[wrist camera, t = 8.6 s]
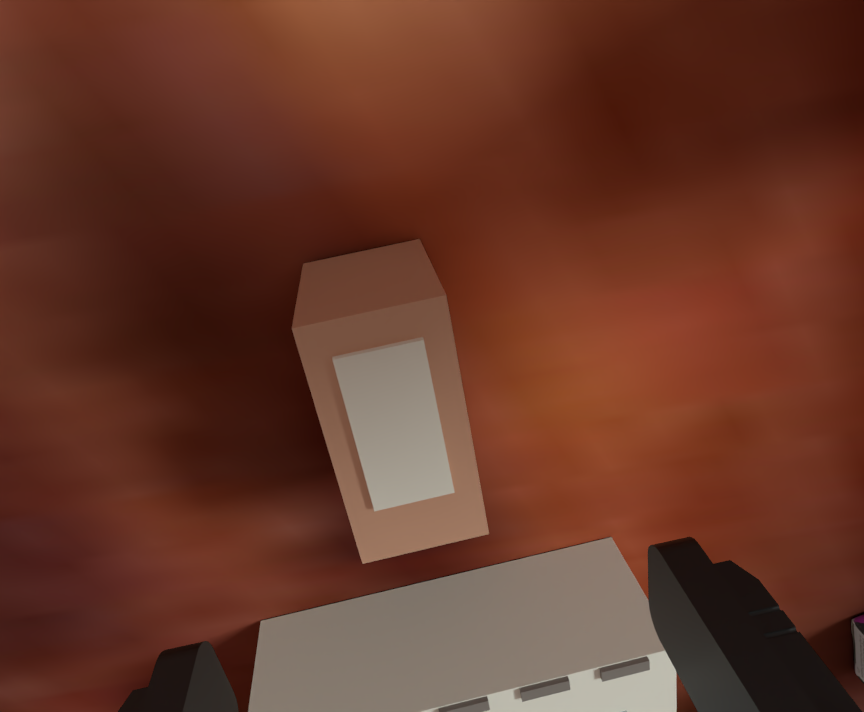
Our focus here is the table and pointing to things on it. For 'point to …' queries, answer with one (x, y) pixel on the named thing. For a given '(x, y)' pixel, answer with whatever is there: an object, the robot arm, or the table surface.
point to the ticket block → (476, 644)
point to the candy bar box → (858, 645)
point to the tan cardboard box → (390, 398)
